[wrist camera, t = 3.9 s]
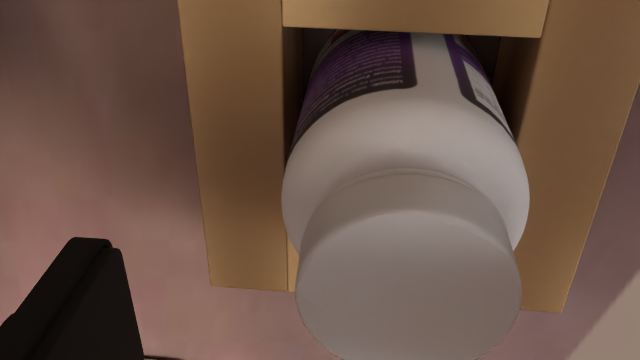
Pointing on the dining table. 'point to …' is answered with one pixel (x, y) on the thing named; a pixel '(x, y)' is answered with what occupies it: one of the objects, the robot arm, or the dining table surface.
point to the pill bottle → (404, 200)
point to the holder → (419, 17)
